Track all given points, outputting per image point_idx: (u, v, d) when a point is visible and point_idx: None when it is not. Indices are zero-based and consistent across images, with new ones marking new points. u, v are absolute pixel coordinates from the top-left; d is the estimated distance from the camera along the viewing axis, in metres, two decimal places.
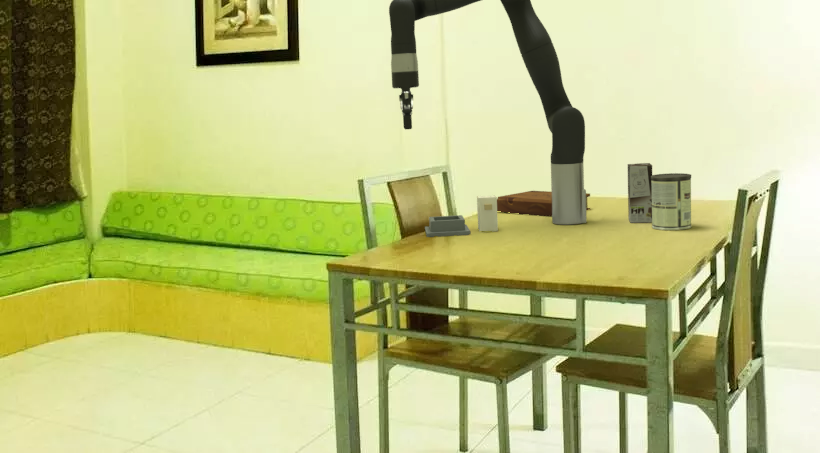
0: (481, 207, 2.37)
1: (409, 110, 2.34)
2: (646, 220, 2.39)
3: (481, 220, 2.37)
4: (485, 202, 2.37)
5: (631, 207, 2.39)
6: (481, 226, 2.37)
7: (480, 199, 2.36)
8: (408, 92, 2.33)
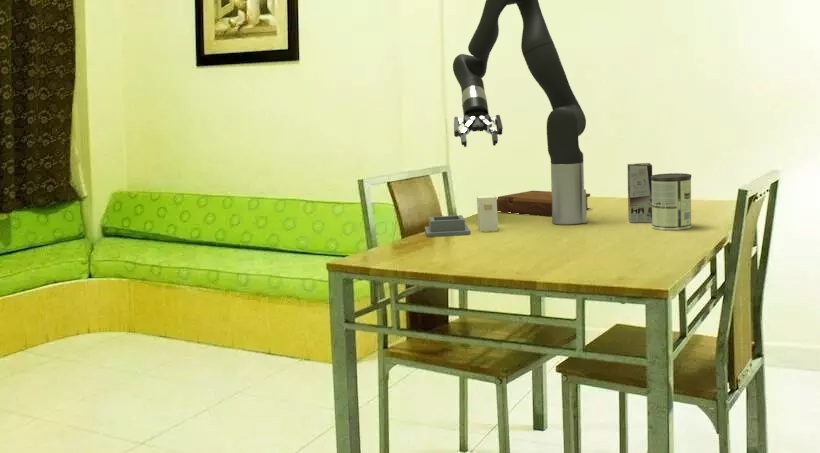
0: (481, 207, 2.37)
1: (454, 130, 2.52)
2: (646, 220, 2.39)
3: (481, 220, 2.37)
4: (485, 202, 2.37)
5: (631, 207, 2.39)
6: (481, 226, 2.37)
7: (480, 199, 2.36)
8: None
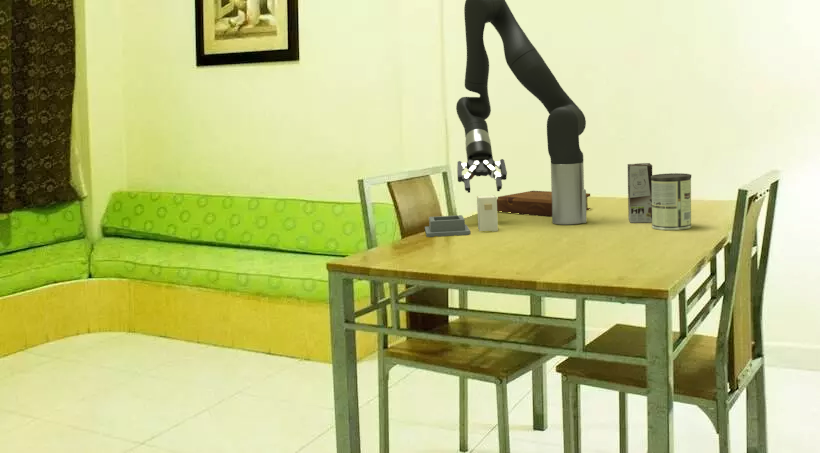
0: (481, 207, 2.37)
1: (458, 176, 2.47)
2: (646, 220, 2.39)
3: (481, 220, 2.37)
4: (485, 202, 2.36)
5: (631, 207, 2.39)
6: (481, 226, 2.37)
7: (480, 199, 2.36)
8: None
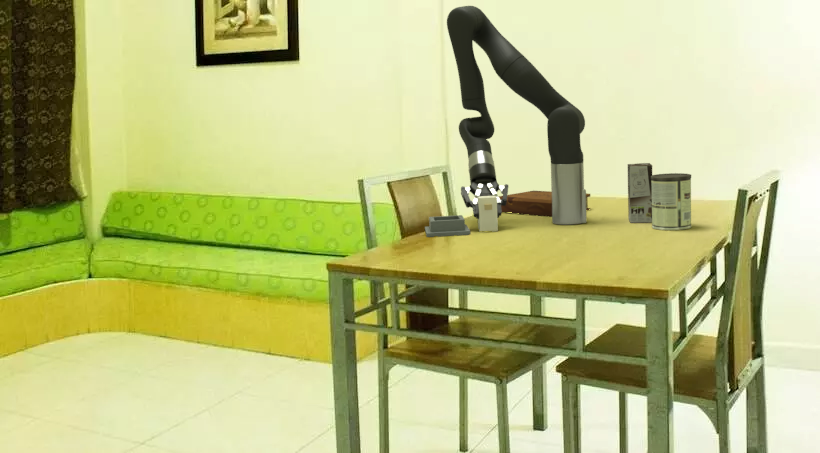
0: (481, 207, 2.37)
1: (466, 201, 2.40)
2: (646, 220, 2.39)
3: (481, 220, 2.37)
4: (485, 202, 2.37)
5: (631, 207, 2.39)
6: (481, 226, 2.37)
7: (480, 199, 2.36)
8: (461, 189, 2.43)
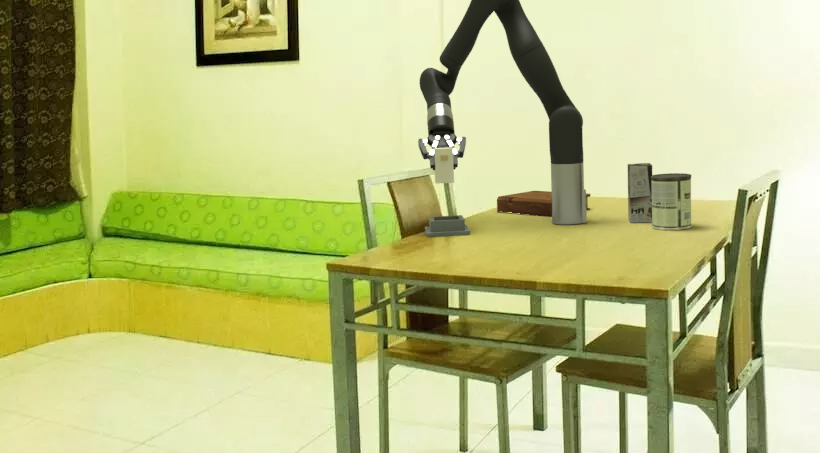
0: (437, 158, 2.35)
1: (423, 153, 2.38)
2: (646, 220, 2.39)
3: (437, 171, 2.35)
4: (441, 153, 2.34)
5: (631, 207, 2.39)
6: (437, 177, 2.35)
7: (436, 150, 2.34)
8: None
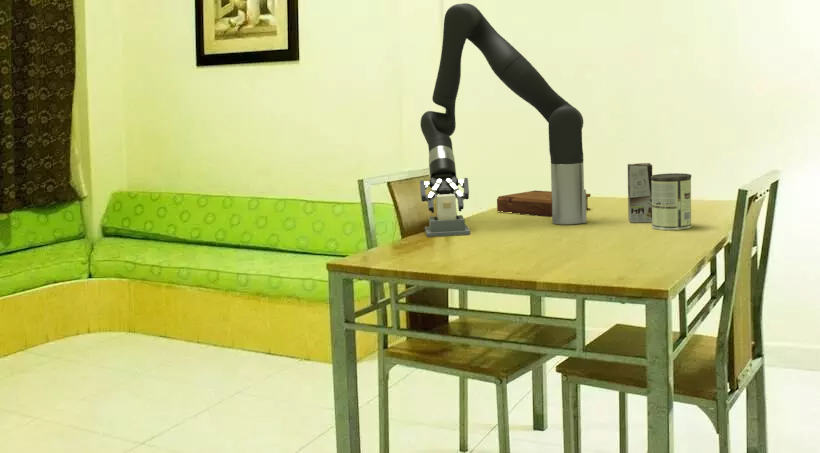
0: (440, 206, 2.36)
1: (421, 195, 2.40)
2: (646, 220, 2.39)
3: (440, 218, 2.37)
4: (444, 200, 2.36)
5: (631, 207, 2.39)
6: None
7: (439, 197, 2.36)
8: None
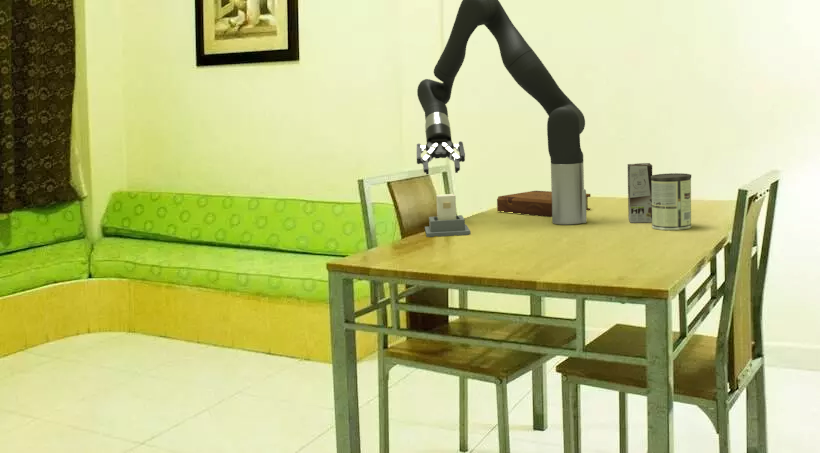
0: (440, 206, 2.36)
1: None
2: (646, 220, 2.39)
3: (440, 218, 2.37)
4: (444, 200, 2.36)
5: (631, 207, 2.39)
6: None
7: (439, 197, 2.36)
8: None
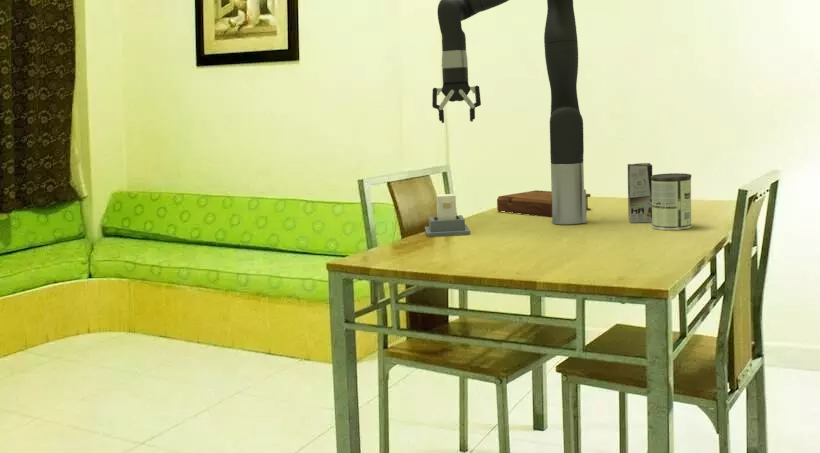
0: (440, 206, 2.36)
1: (432, 105, 2.52)
2: (646, 220, 2.39)
3: (440, 218, 2.37)
4: (444, 200, 2.36)
5: (631, 207, 2.39)
6: None
7: (439, 197, 2.36)
8: (433, 88, 2.51)
